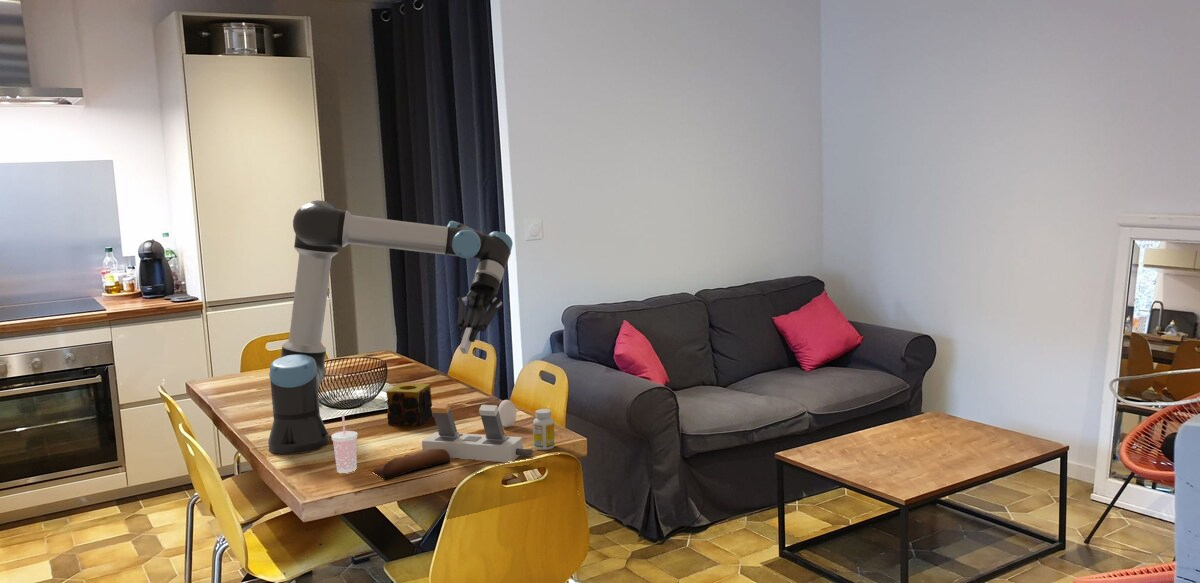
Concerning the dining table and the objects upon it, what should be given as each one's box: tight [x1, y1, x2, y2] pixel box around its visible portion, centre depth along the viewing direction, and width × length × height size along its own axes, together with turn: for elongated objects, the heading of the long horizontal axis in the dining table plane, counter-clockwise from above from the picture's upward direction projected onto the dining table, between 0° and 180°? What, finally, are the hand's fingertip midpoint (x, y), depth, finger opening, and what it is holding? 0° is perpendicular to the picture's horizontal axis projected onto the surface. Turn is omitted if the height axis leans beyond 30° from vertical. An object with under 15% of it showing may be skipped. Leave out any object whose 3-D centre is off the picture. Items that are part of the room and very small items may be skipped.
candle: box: [385, 383, 433, 427], centre depth 261 cm, size 10×10×10 cm
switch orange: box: [431, 401, 460, 437], centre depth 228 cm, size 2×5×10 cm, turn 73°
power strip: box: [421, 431, 534, 463], centre depth 228 cm, size 28×8×4 cm, turn 73°
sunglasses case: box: [370, 449, 451, 480], centre depth 219 cm, size 18×7×7 cm
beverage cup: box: [331, 413, 358, 474], centre depth 218 cm, size 6×6×14 cm
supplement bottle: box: [532, 408, 555, 451], centre depth 233 cm, size 5×5×10 cm
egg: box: [498, 399, 517, 428], centre depth 252 cm, size 5×5×8 cm
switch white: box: [478, 404, 507, 440], centre depth 224 cm, size 2×5×10 cm, turn 73°
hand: (463, 350), depth 238 cm, fingers closed
